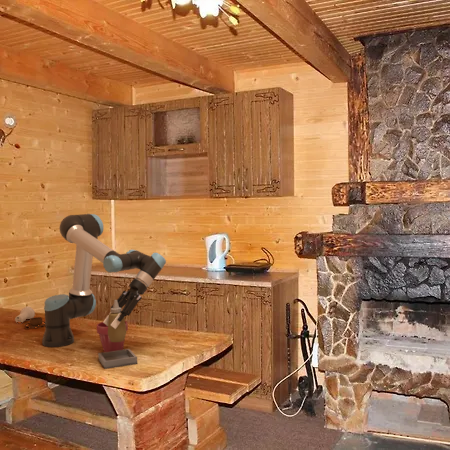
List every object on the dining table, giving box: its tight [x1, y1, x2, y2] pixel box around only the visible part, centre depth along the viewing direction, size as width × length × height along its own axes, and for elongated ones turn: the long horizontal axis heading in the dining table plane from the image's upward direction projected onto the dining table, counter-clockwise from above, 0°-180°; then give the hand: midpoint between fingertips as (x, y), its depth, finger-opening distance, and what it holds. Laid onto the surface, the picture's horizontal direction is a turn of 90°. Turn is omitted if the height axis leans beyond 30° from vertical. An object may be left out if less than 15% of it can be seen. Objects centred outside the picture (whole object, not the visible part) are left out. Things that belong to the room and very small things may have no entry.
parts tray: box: [97, 348, 138, 370], centre depth 231 cm, size 14×14×3 cm
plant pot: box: [96, 320, 129, 352], centre depth 249 cm, size 14×14×13 cm
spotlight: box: [14, 305, 36, 323], centre depth 314 cm, size 8×11×8 cm
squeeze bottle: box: [108, 299, 127, 342], centre depth 230 cm, size 8×8×18 cm
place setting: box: [24, 316, 45, 329], centre depth 300 cm, size 18×20×6 cm
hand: (109, 325), depth 228 cm, fingers closed on squeeze bottle, 6 cm apart
